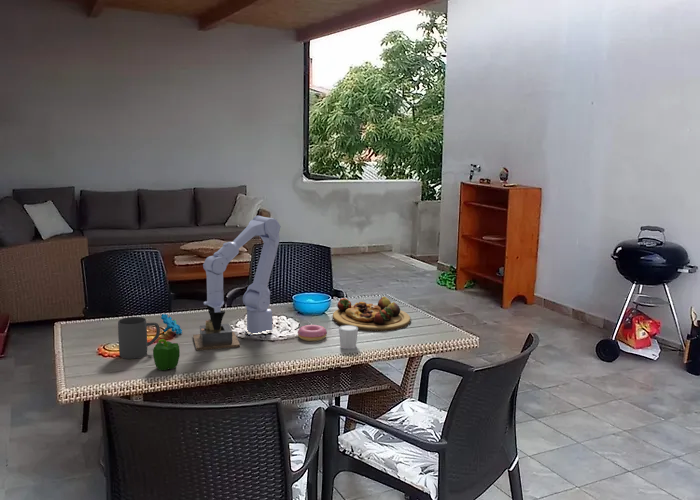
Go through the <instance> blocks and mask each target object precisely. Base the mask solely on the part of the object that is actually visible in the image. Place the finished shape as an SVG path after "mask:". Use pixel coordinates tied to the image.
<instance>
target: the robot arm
mask: <svg viewBox="0 0 700 500" xmlns="http://www.w3.org/2000/svg"><path fill="white" fill-rule="evenodd" d="M280 231H281V224H280V223H279V221H278V219H276V218H275V217H274V218H273V217H266V216H262V215H255V216H254V217H253V219H250V221H249V222H248V225H247V226H246V227H245V228H244V229H243V230H242V231H241V232H240V233H239V234H238V236H236V238H234V239H233V241H226V242H223V243H222V246H221V247H220V248H219V249H218V250H217V251H215V252H214V253H213V255H210V256H209V255H208V256H207V257H206V258H205V260H204V262H203V264H202V266H203V270H204V271H205V274H206V301H203V305H204V306H206V308H207V310H208V314H209V317H210V319H212V323H213V328H214V330H220V328H221V324H222V321H223V318H224V316H225V313H226V311H225V310H221V308H222V307H223V305H225V301H224V272H225V271H226V270H227V267H228V265H229V263H230V262H231V261H232V260H233V259H234V258H235V257H237V255H238V254H239V253H240V249H241V248H242V247H243V246H244V245H246V243H247V242H249V241H251V239H253V238H254V237H257V236H259V237H260V238H261V240H262V241H263V244H262V248H261V252H260V256H259V259H258V263H257V267H256V270H255V274H254V277H253V282H252V283H251V284H249V285H248V286H247V289H246V291H245V292H244V294H243V296H242V302H243V305H245V309H246V328H247V330H248V331H249V332H251V333H258V332H262V331H266V330H272V331H273V313H272V309H271V308H269V307H270V304H271V290H270V289H269V287H268V285H269V282H270V277H271V274H272V270H273V267H274V263H275V259H276V255H277V252H278V249H279V244H280ZM210 319H209V320H210ZM248 335H250V336H252V335H251V334H248ZM248 335H247V336H248Z"/></svg>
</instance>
